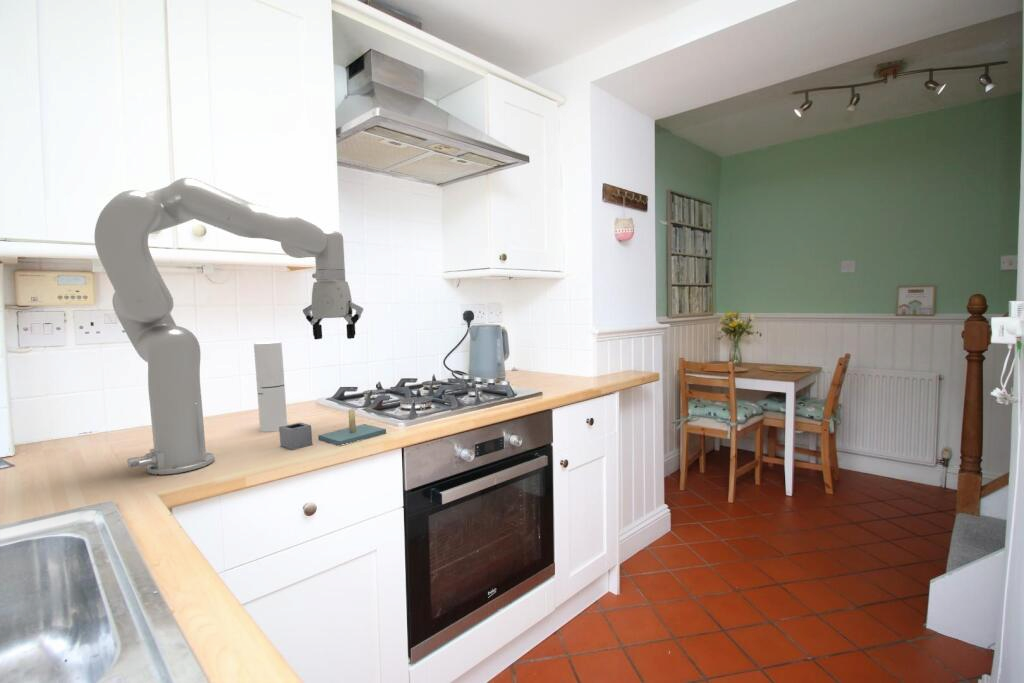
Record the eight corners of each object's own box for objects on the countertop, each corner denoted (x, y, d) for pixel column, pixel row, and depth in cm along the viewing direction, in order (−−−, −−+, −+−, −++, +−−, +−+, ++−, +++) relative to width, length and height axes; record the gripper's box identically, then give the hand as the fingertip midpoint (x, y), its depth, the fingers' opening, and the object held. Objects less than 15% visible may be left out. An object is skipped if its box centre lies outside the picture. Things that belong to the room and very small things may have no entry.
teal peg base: (339, 446, 121) (338, 417, 121) (318, 439, 128) (316, 412, 127) (386, 433, 132) (384, 407, 132) (364, 428, 139) (363, 403, 138)
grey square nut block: (291, 450, 119) (289, 430, 119) (280, 446, 123) (279, 426, 122) (312, 444, 124) (311, 425, 123) (301, 441, 127) (300, 422, 127)
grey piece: (280, 431, 138) (273, 343, 136) (255, 432, 138) (248, 344, 136) (291, 425, 145) (286, 341, 143) (268, 425, 145) (262, 342, 143)
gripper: (294, 277, 132) (298, 340, 133) (354, 275, 130) (357, 339, 131) (309, 278, 139) (312, 338, 141) (366, 276, 137) (369, 337, 138)
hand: (334, 338), depth 136 cm, fingers open, 9 cm apart
